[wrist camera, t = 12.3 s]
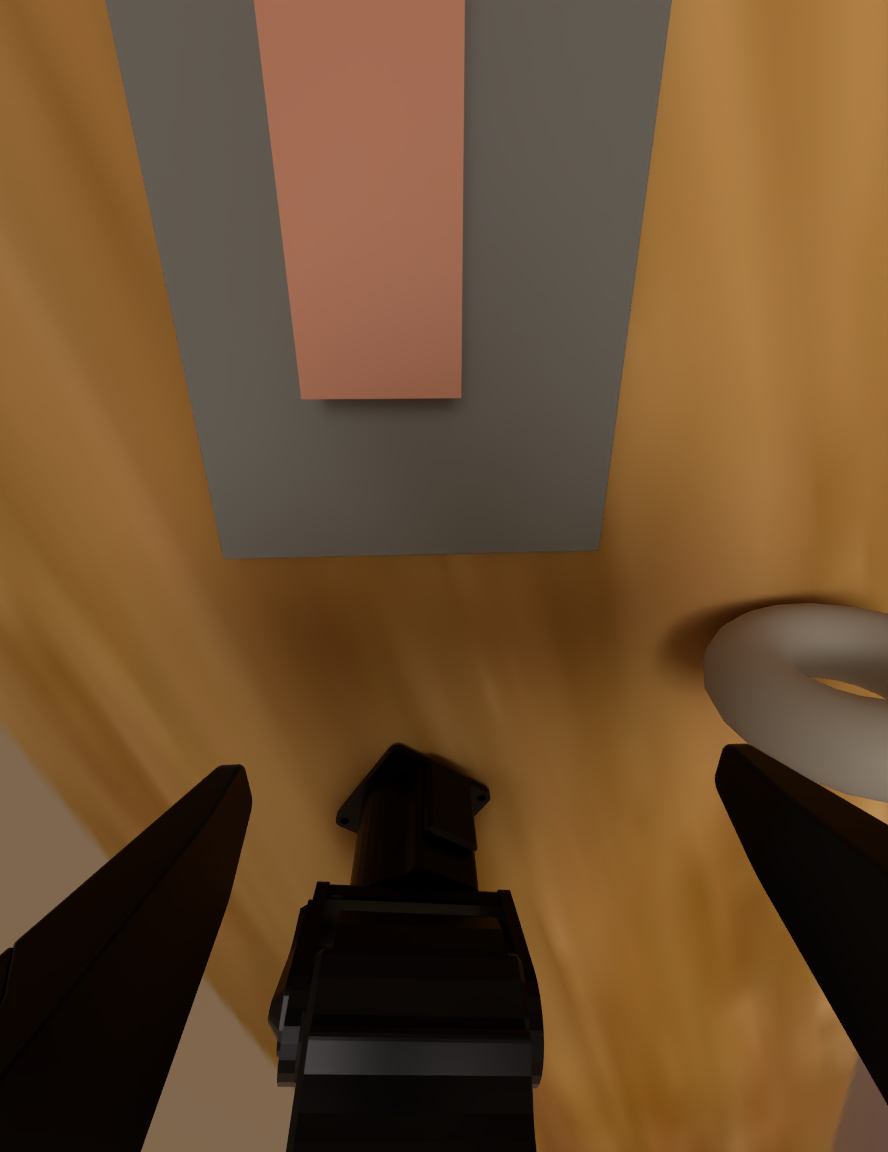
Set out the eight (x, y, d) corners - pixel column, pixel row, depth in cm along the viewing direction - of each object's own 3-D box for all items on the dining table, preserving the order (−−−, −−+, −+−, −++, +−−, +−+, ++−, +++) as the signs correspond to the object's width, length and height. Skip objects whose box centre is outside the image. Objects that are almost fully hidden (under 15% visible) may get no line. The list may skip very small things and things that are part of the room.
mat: (593, 546, 21) (598, 550, 20) (229, 553, 20) (223, 558, 20) (682, -142, 13) (693, -165, 12) (82, -158, 12) (66, -183, 12)
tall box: (461, 398, 15) (467, -242, 10) (301, 399, 15) (223, -251, 10) (455, 393, 18) (457, -109, 13) (320, 394, 17) (268, -114, 12)
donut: (658, 666, 24) (805, 852, 15) (662, 606, 22) (828, 770, 13) (857, 640, 24) (1130, 811, 15) (873, 578, 22) (1188, 724, 13)
